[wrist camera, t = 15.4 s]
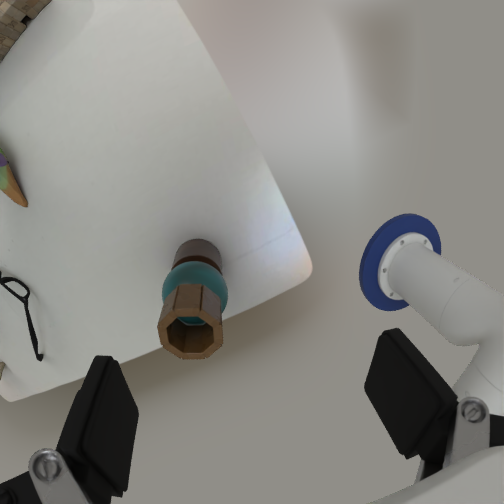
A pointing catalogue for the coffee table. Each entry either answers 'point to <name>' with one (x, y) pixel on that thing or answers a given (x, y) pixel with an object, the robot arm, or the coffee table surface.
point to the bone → (1, 368)
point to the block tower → (15, 20)
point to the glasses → (25, 301)
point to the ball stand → (197, 273)
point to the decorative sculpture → (10, 182)
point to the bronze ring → (193, 336)
